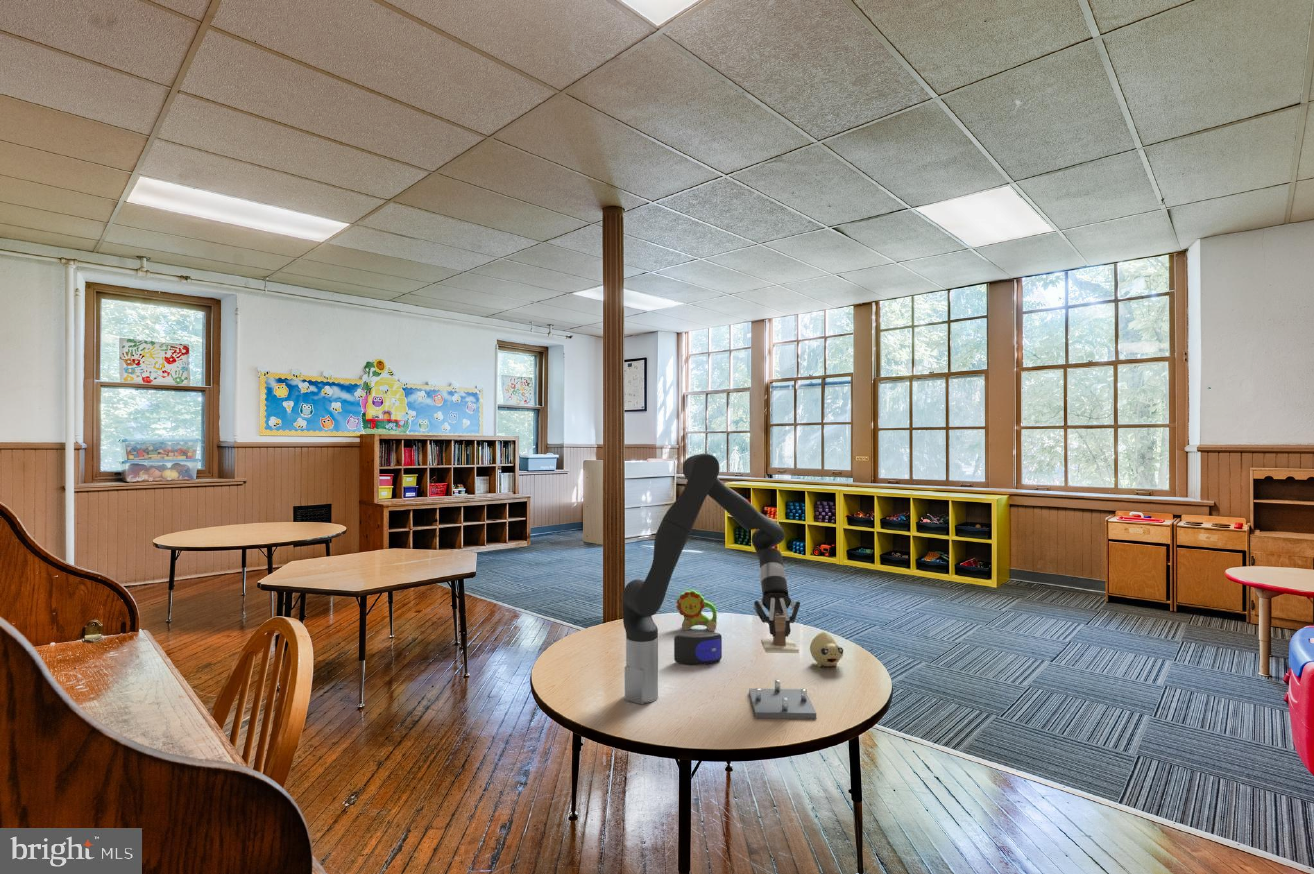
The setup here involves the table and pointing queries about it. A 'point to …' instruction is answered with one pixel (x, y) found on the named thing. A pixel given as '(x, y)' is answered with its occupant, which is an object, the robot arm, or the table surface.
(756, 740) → the table surface
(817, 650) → the yellow toy animal
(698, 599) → the toy lion
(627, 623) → the robot arm
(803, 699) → the standoff pins
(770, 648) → the handled board
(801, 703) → the base board
